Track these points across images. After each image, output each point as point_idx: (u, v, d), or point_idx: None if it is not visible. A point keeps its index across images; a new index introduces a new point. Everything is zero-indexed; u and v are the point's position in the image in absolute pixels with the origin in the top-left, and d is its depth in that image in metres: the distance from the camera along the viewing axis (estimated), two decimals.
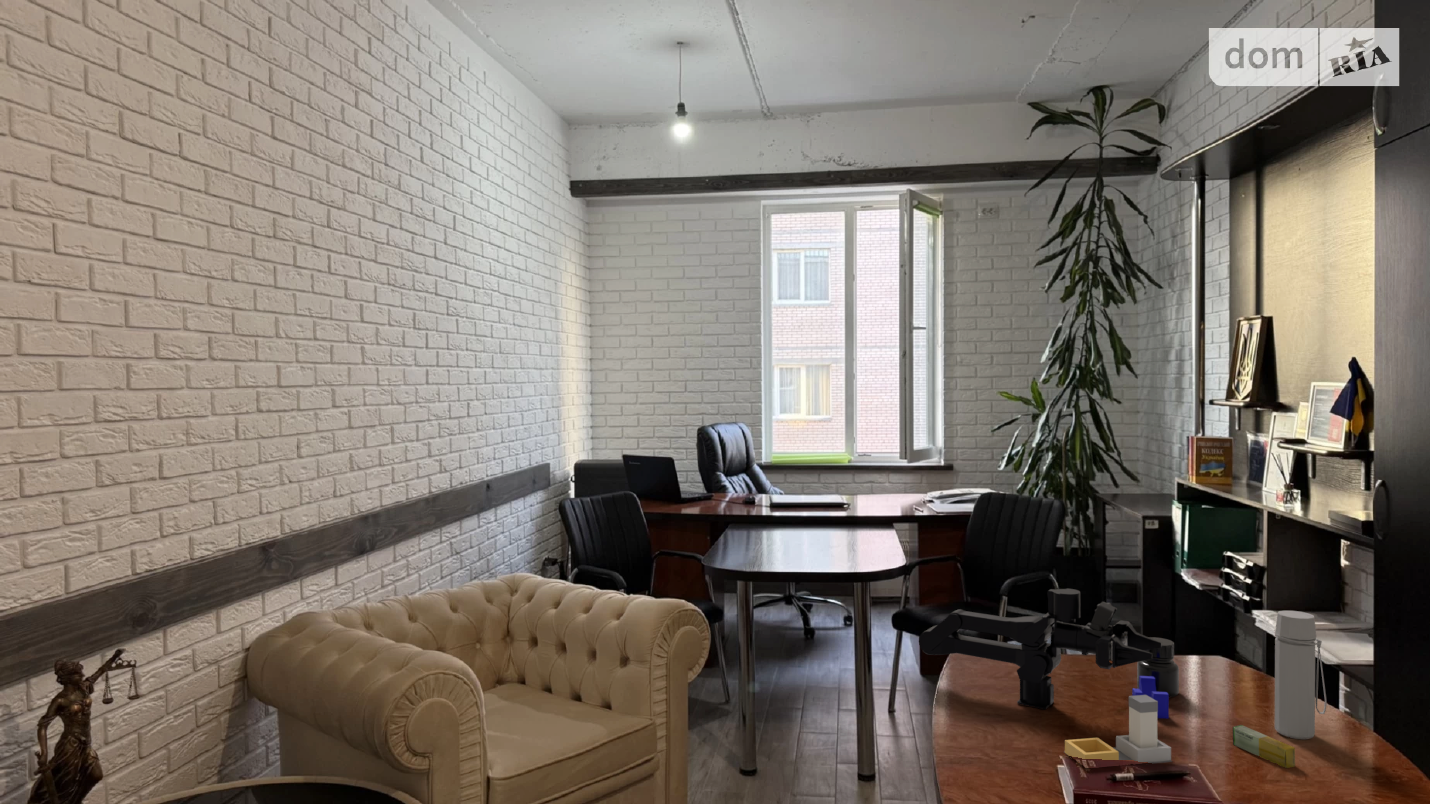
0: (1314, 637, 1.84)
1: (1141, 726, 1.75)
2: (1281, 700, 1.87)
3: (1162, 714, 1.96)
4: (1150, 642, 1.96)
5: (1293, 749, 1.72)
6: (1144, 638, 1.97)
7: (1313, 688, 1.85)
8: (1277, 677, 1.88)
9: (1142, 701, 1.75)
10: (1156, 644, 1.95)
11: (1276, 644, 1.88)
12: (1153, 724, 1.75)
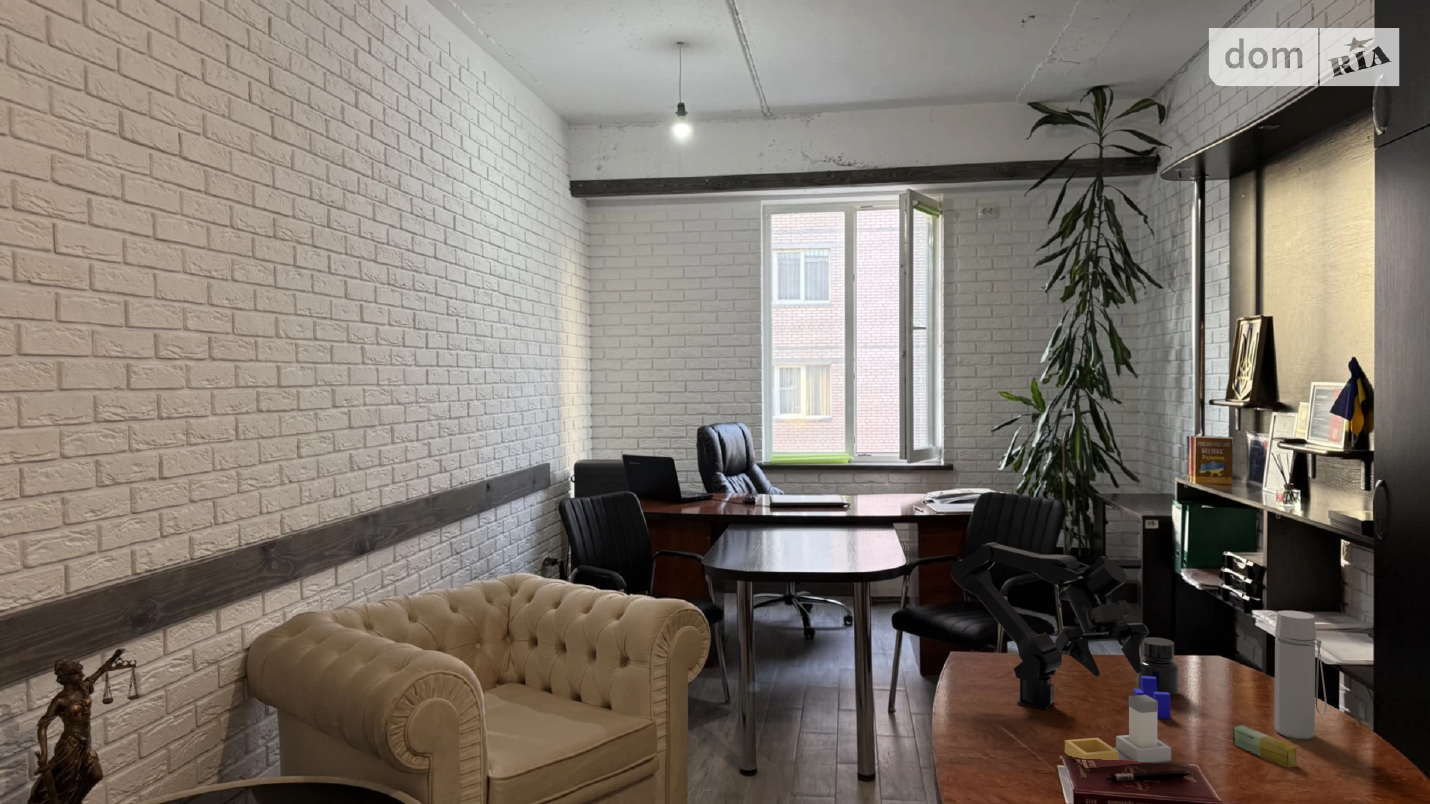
0: (1314, 637, 1.84)
1: (1141, 726, 1.75)
2: (1281, 700, 1.87)
3: (1163, 715, 1.96)
4: (1134, 662, 1.87)
5: (1295, 749, 1.72)
6: (1134, 655, 1.87)
7: (1313, 688, 1.85)
8: (1277, 677, 1.88)
9: (1142, 701, 1.75)
10: (1136, 668, 1.86)
11: (1276, 644, 1.88)
12: (1153, 724, 1.75)
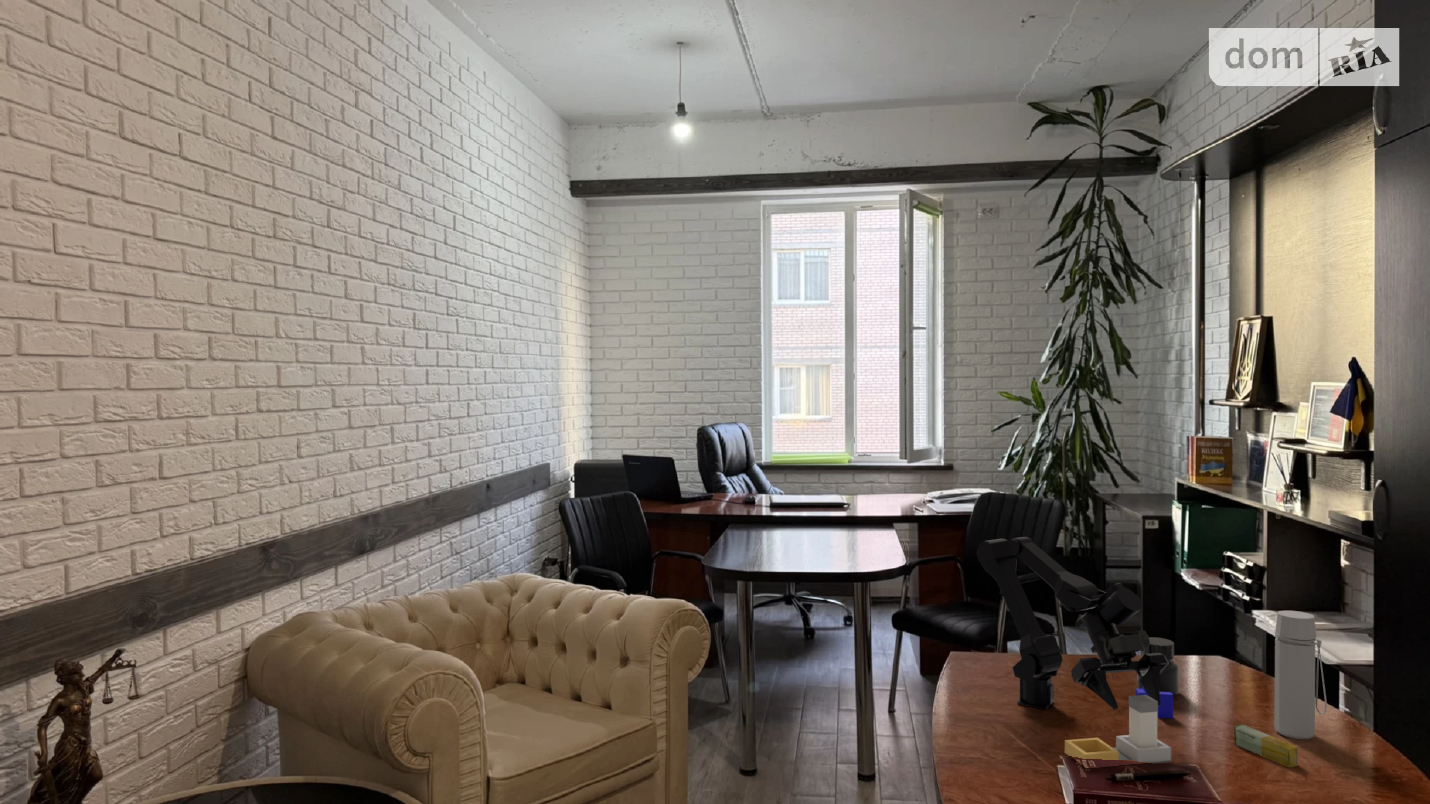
0: (1314, 637, 1.84)
1: (1141, 726, 1.75)
2: (1281, 700, 1.87)
3: (1166, 715, 1.96)
4: (1154, 695, 1.81)
5: (1296, 748, 1.73)
6: (1153, 687, 1.81)
7: (1313, 688, 1.85)
8: (1277, 677, 1.88)
9: (1142, 701, 1.75)
10: None
11: (1276, 644, 1.88)
12: (1153, 724, 1.75)
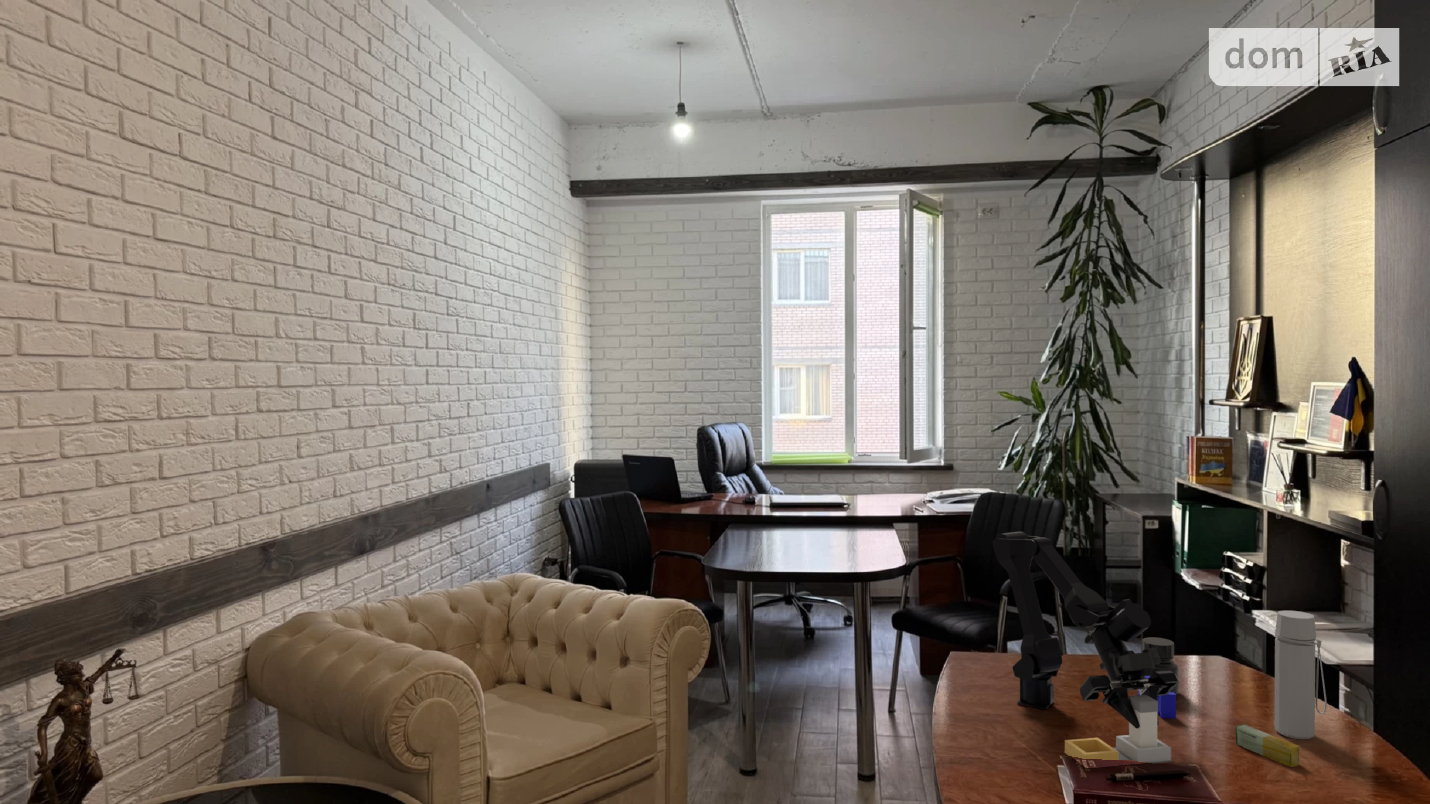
0: (1314, 637, 1.84)
1: (1141, 726, 1.75)
2: (1281, 700, 1.87)
3: (1169, 715, 1.96)
4: None
5: (1298, 748, 1.73)
6: None
7: (1313, 688, 1.85)
8: (1277, 677, 1.88)
9: (1142, 701, 1.75)
10: None
11: (1276, 644, 1.88)
12: (1153, 724, 1.75)
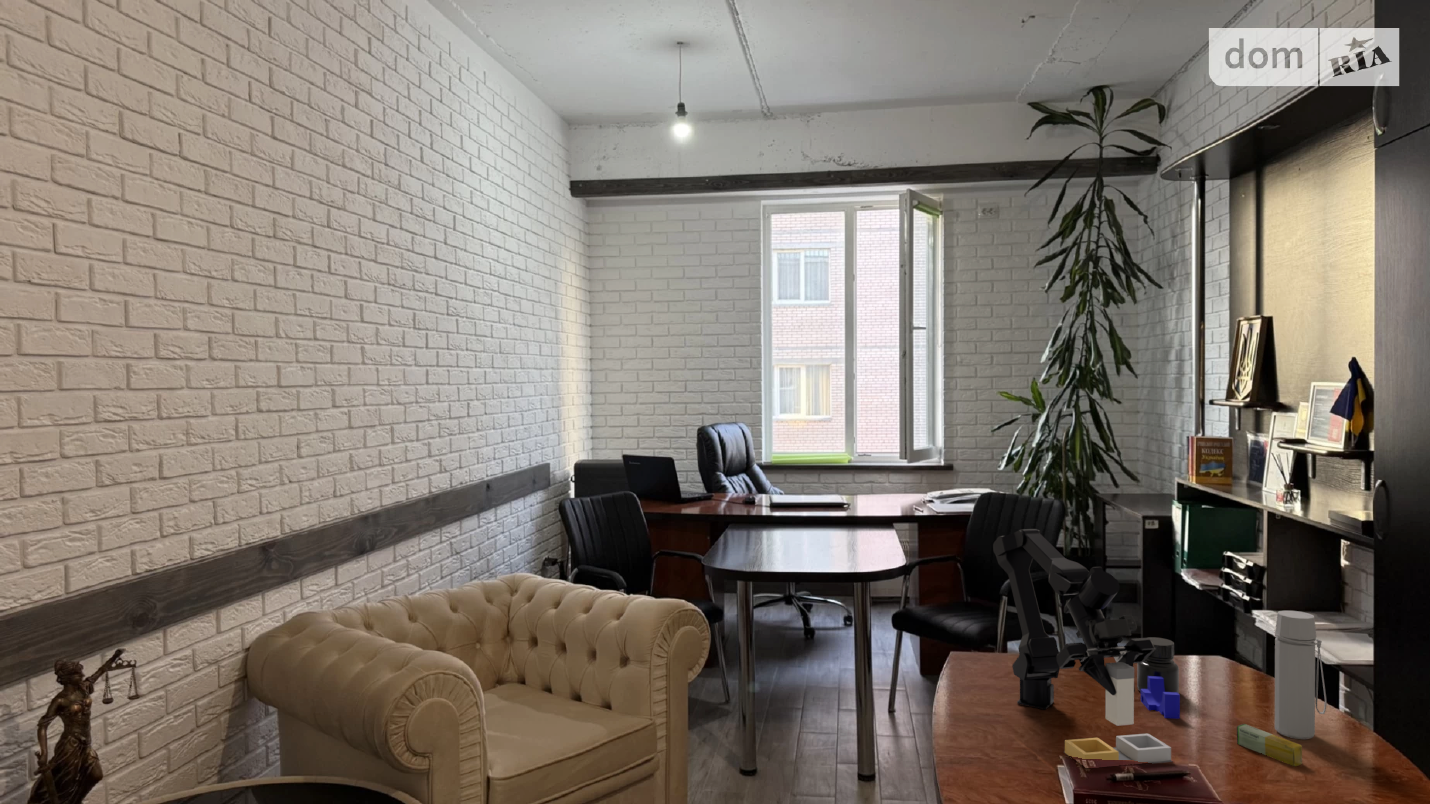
0: (1314, 637, 1.84)
1: (1118, 693, 1.74)
2: (1281, 700, 1.87)
3: (1173, 715, 1.96)
4: None
5: (1300, 747, 1.73)
6: None
7: (1313, 688, 1.85)
8: (1277, 677, 1.88)
9: (1119, 668, 1.74)
10: None
11: (1276, 644, 1.88)
12: (1130, 691, 1.74)
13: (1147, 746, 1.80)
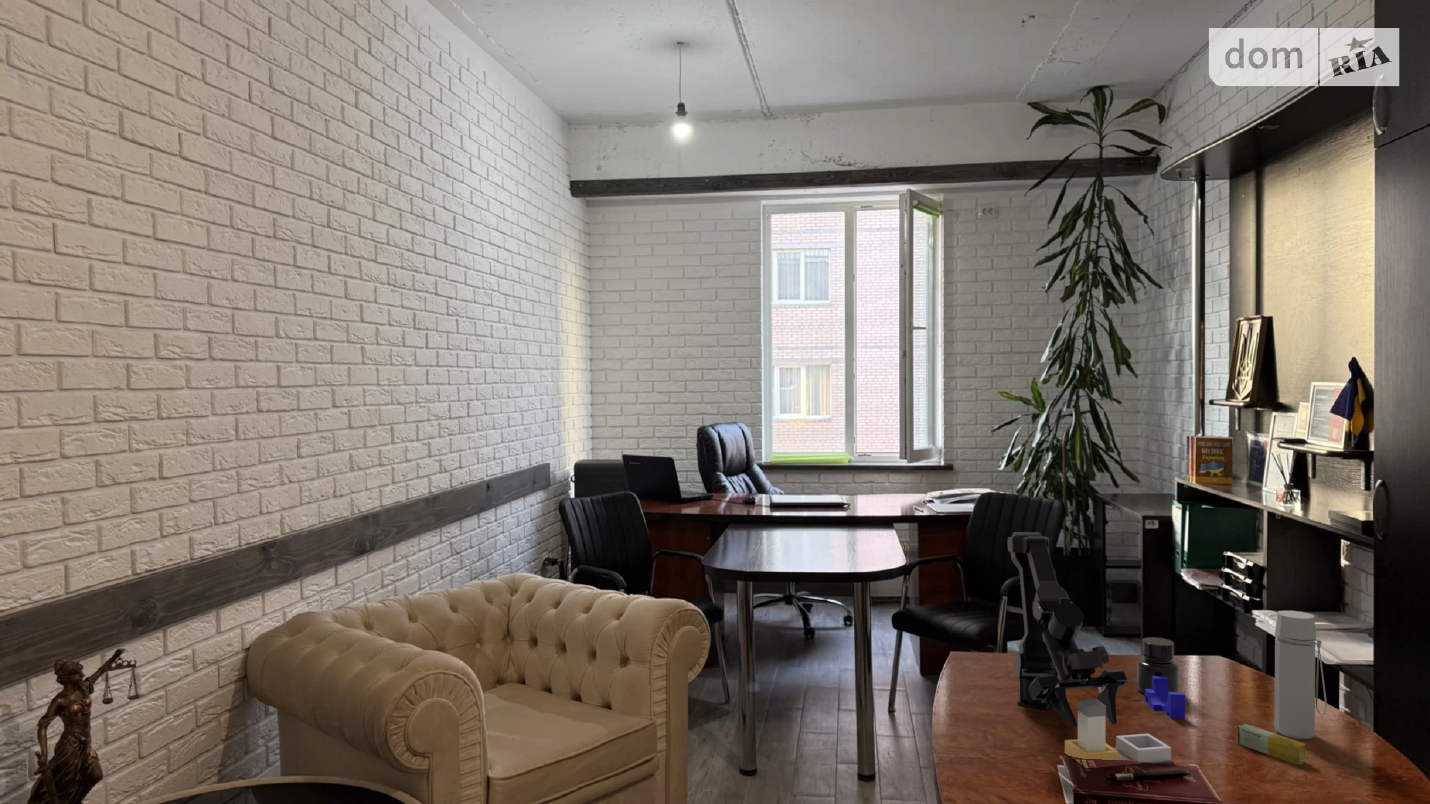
0: (1314, 637, 1.84)
1: (1089, 730, 1.73)
2: (1281, 700, 1.87)
3: (1178, 715, 1.95)
4: (1110, 713, 1.76)
5: (1304, 745, 1.74)
6: (1110, 705, 1.76)
7: (1313, 688, 1.85)
8: (1277, 677, 1.88)
9: (1090, 705, 1.74)
10: (1112, 719, 1.75)
11: (1276, 644, 1.88)
12: (1101, 728, 1.74)
13: (1147, 746, 1.80)
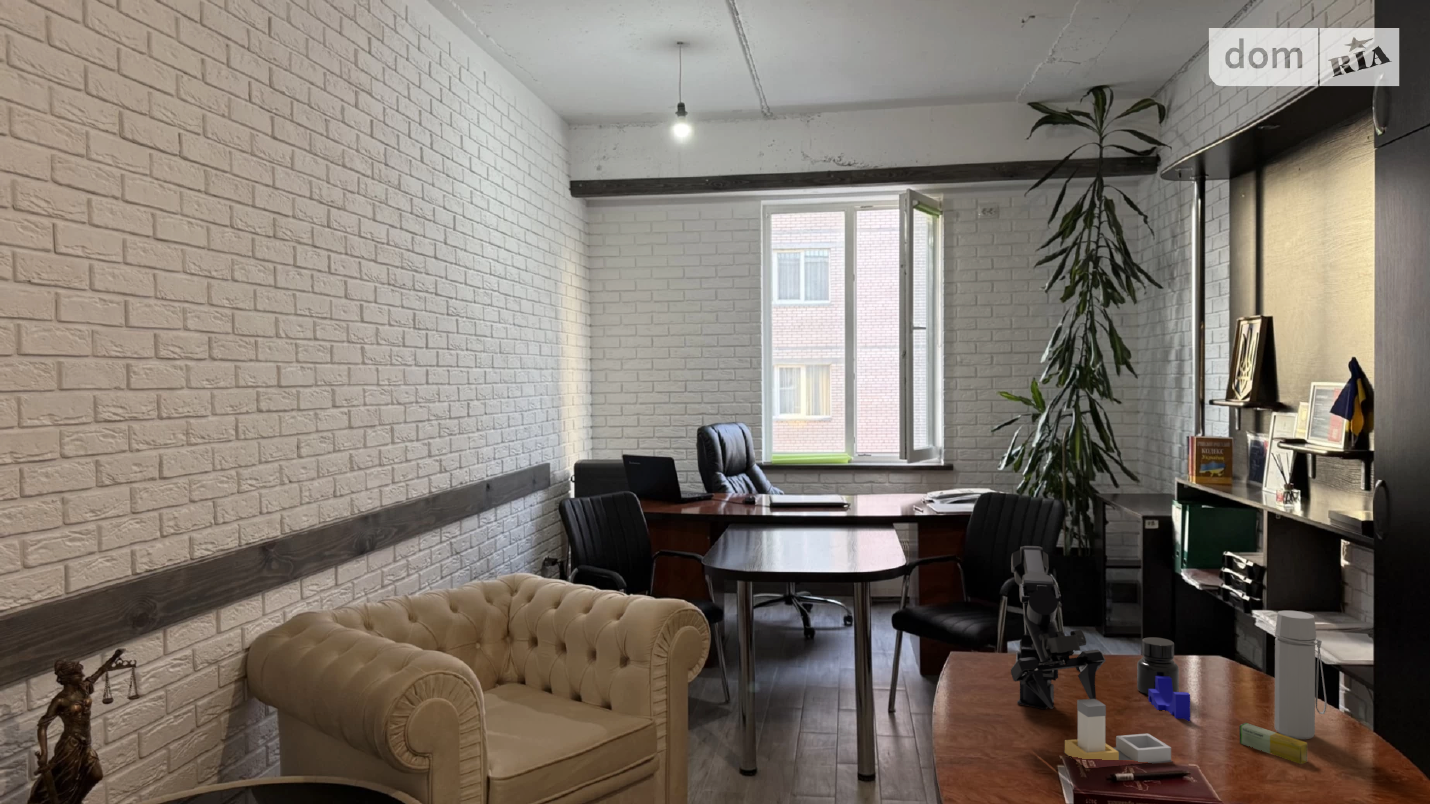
0: (1314, 637, 1.84)
1: (1089, 730, 1.73)
2: (1281, 700, 1.87)
3: (1183, 715, 1.95)
4: (1090, 692, 1.86)
5: (1306, 744, 1.74)
6: (1089, 685, 1.86)
7: (1313, 688, 1.85)
8: (1277, 677, 1.88)
9: (1090, 705, 1.74)
10: (1091, 698, 1.85)
11: (1276, 644, 1.88)
12: (1101, 728, 1.74)
13: (1147, 746, 1.80)
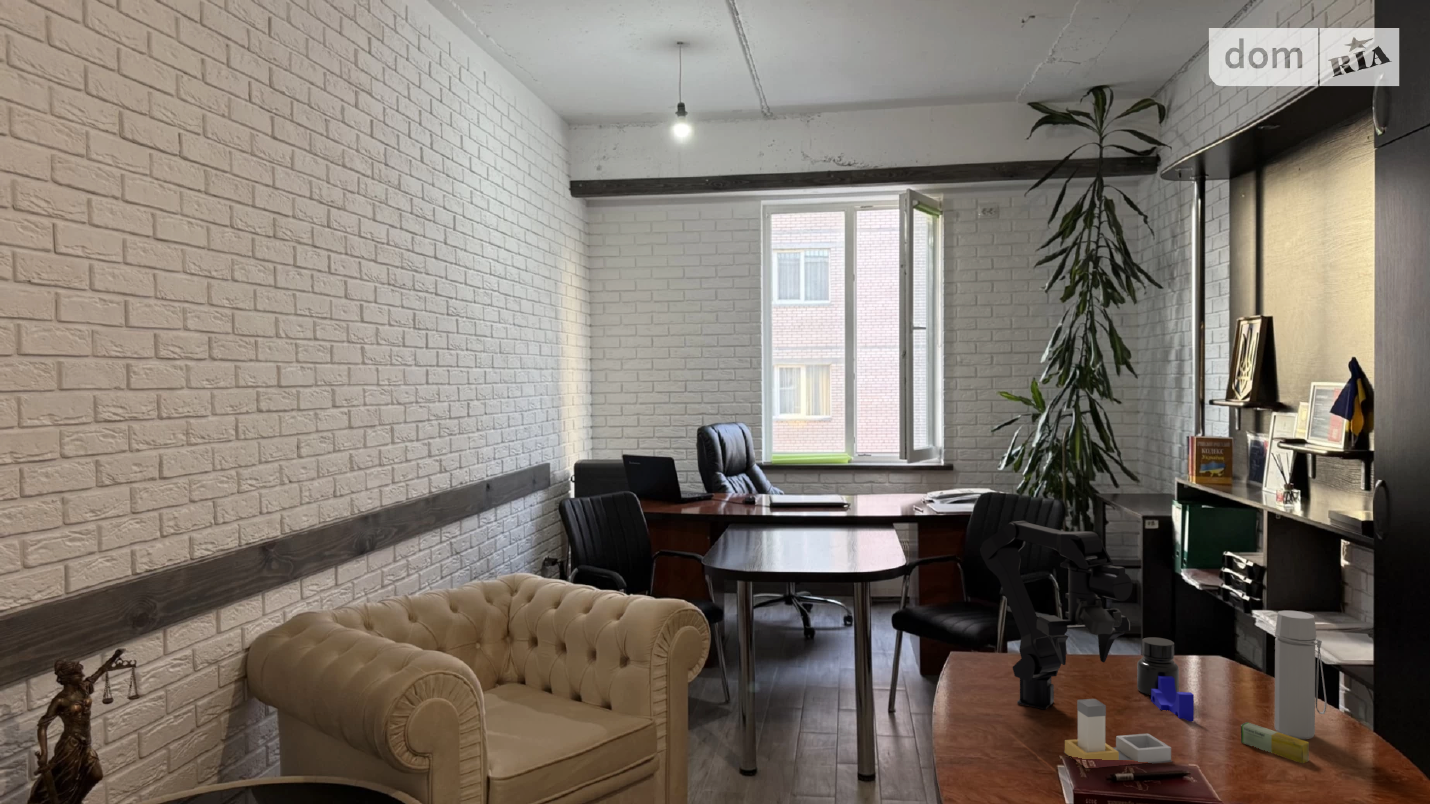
0: (1314, 637, 1.84)
1: (1089, 730, 1.73)
2: (1281, 700, 1.87)
3: (1187, 715, 1.95)
4: (1102, 652, 1.95)
5: (1307, 744, 1.75)
6: (1105, 647, 1.94)
7: (1313, 688, 1.85)
8: (1277, 677, 1.88)
9: (1090, 705, 1.74)
10: (1102, 657, 1.95)
11: (1276, 644, 1.88)
12: (1101, 728, 1.74)
13: (1147, 746, 1.80)
